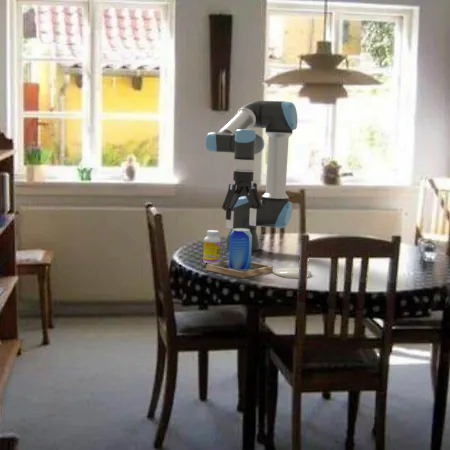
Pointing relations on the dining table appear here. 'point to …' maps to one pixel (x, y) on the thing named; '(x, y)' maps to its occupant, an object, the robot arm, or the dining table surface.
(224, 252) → the dining table surface
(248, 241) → the beer can
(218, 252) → the supplement bottle
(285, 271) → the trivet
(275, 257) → the dining table surface
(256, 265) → the oak frame
